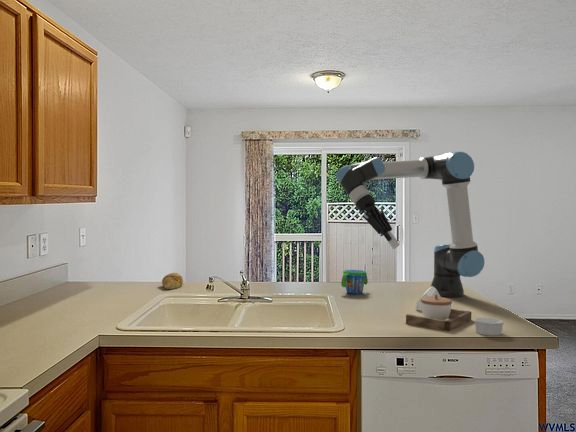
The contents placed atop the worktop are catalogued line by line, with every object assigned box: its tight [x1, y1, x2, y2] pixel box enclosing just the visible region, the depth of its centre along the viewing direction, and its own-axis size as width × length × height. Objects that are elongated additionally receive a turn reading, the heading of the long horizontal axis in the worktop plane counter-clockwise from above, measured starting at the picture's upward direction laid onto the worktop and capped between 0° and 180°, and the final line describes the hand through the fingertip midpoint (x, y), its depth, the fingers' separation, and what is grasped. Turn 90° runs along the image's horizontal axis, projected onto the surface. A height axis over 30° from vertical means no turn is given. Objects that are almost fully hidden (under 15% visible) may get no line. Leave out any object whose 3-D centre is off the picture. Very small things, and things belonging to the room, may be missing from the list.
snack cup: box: [340, 269, 369, 295], centre depth 233 cm, size 16×10×10 cm
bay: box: [405, 308, 472, 332], centre depth 179 cm, size 16×21×3 cm
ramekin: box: [474, 316, 504, 337], centre depth 165 cm, size 9×9×4 cm
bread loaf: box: [161, 272, 184, 290], centre depth 244 cm, size 21×10×8 cm, turn 0°
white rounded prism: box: [415, 286, 441, 312], centre depth 206 cm, size 7×7×24 cm
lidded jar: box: [421, 295, 453, 321], centre depth 181 cm, size 11×11×9 cm
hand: (396, 246), depth 193 cm, fingers closed
